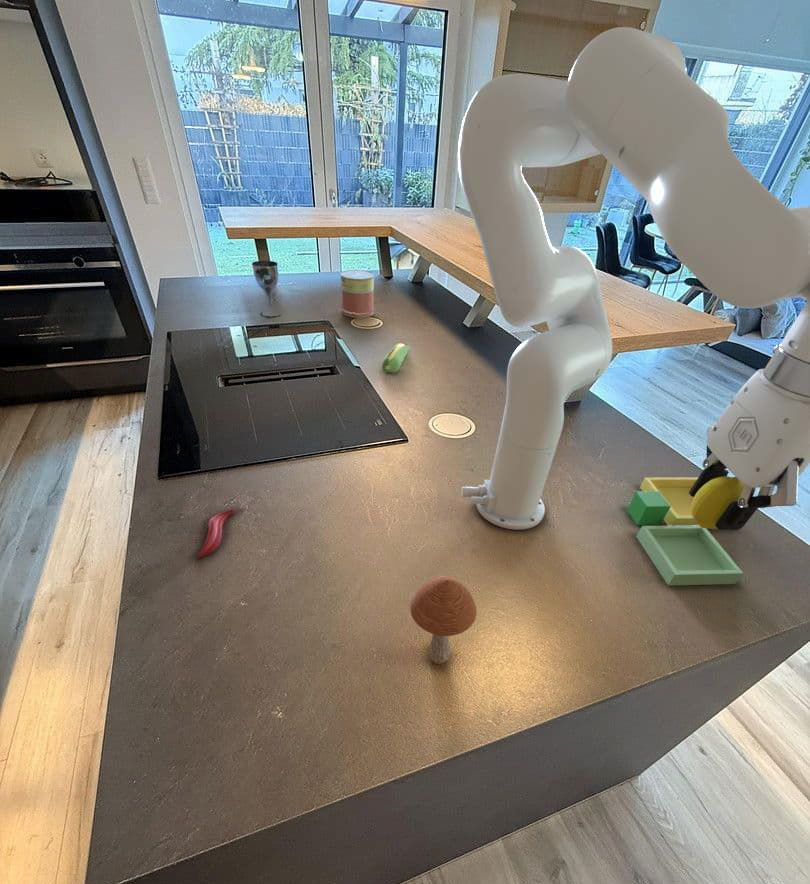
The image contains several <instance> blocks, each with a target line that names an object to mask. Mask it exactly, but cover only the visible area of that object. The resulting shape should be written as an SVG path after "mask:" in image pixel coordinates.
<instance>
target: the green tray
mask: <svg viewBox="0 0 810 884" xmlns="http://www.w3.org/2000/svg"><path fill="white" fill-rule="evenodd" d="M636 538H637V540H638V542H639V543H640V545H641V546H642V549H644V552H646V554H647V556H648V557H649V559H650V560H651V562H652V563H653V565H654V566H655V568H656V569H657V571H658V572H659V574H660V576H661V578H663V580H664V582H665V583H666V585H667V586H704V585H705V586H707V585H736V583H737V582H738V581H739V580H740V579H741V577H742V576H743V574H744V572H743V571H742V569H740V568H739V566H738V565H737V564H736V562H735V561H734V560H733V559H732V557H731V556H730V555H729V554H728V553H727V551H726V550H725V549H724V547H722V545H721V544H720V543H719V542H718V541H717V540H716V539H715V537H714V536H713V534H712V533H710V531H709V530H708V529H706V528H701V527H700V526H699V525H693V526H668V525H641V527H640V528H639V530H638V533H637V534H636Z"/></svg>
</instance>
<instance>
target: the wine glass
mask: <svg viewBox="0 0 810 884" xmlns="http://www.w3.org/2000/svg"><path fill="white" fill-rule="evenodd" d="M251 268H252V272H253V276H254V280H255V282H256V284H257V285H258V286H259V288H260V289H261V290H262V291H263V292H264V293H265V295H266V297H267V301H268V307H272V308H273V306H272V294H273V292H274V290H275V289H276V287H277V286H278V282H279V264H278V262H276V261H273V260H272V261H271V260H257V261H253V262H251Z"/></svg>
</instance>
